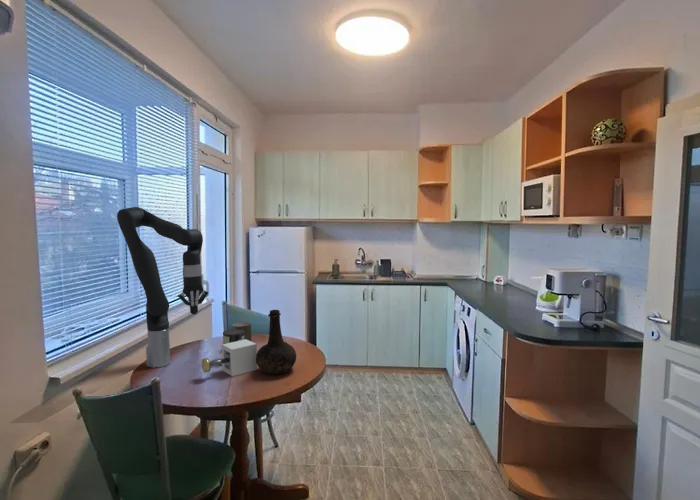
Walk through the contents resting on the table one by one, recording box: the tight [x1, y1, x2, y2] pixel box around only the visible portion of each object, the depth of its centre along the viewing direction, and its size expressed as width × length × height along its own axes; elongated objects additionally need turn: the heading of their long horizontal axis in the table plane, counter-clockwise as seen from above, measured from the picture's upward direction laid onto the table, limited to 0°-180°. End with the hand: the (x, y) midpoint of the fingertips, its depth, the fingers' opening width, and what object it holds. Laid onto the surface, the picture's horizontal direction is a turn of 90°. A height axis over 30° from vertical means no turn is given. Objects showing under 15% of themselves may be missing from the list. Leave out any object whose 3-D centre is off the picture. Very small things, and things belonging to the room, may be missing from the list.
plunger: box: [201, 353, 230, 374], centre depth 169 cm, size 12×6×6 cm, turn 133°
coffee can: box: [222, 328, 245, 344], centre depth 190 cm, size 10×10×14 cm
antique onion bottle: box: [256, 309, 297, 375], centre depth 174 cm, size 18×18×28 cm
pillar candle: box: [232, 321, 252, 342], centre depth 207 cm, size 10×10×15 cm
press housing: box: [221, 339, 258, 377], centre depth 176 cm, size 12×10×12 cm
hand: (194, 314), depth 169 cm, fingers closed
